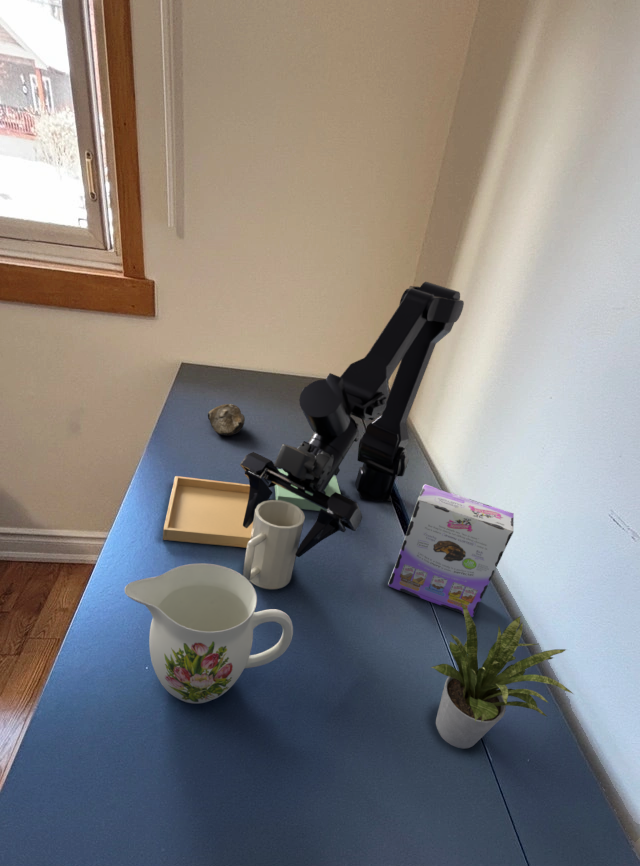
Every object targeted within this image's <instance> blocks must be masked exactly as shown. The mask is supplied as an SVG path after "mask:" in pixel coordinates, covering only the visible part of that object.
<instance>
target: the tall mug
mask: <svg viewBox="0 0 640 866" xmlns="http://www.w3.org/2000/svg"><path fill="white" fill-rule="evenodd" d="M305 520H306V516H305V513H304V511H303V509H300V508H299V507H297V506H295V505H293V504H292V503H289V502H285V501H281V500H276V499H270V500H269V499H268V501H264V502H262V503H260V504H258V505H257V507H256V509H255V514H254V520H253V526H252V532H251V538H250V541H248V543H247V548H246V550H245V555H244V561H243V562H244V563H243V569H242V574H241V575H243V576H244V577H245V578H246V579H247V580H248V581H249V582H250V583H251V584H252V585H253V586H256V587H258V588H261V589H265V590H278V589H279V590H280V589H283V588H284V587H286V586H287V585H288V584H289V583H290V582H291V580H292V577H293V572H294V568H295V564H296V559H297V556H296V555H295V554H296V552H297V550H298V548H299V546H300V542H301V539H302V538H301V537H302V533H303V530H304V529H303V528H304V524H305Z"/></svg>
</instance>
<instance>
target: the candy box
mask: <svg viewBox="0 0 640 866" xmlns="http://www.w3.org/2000/svg"><path fill="white" fill-rule="evenodd" d="M514 520H515V519H514V512H512V511H507V510H505V509H501V508H498V507H495V506H492V505H490V504H486V503H483V502H480V501H477V500H474V499H471V498H468V497H465V496H462V495H458V494H456V493H453V492H450V491H447V490H444V489H441V488H438V487H435V486H432V485H429V484H427V483H424V484H423V486H422V488H421V491H420V493H419V495H418V497H417V500H416V502H415V506H414V509H413V512H412V515H411V519H410V521H409V523H408V527H407V531H406V533H405V535H404V539H403V542H402V544H401V547H400V550H399V553H398V555H397V559H396V561H395V565H394V567H393V569H392V572H391V575H390V578H389V580H388V582H387V586H388V587H389V588H391V589H394V590H397V591H399V592H402V593H406V594H408V595H410V596H413V597H417V598H419V599H422V600H424V601H427V602H429V603H433V604H436V605H438V606H441V607H444V608H446V609H449V610H451V611H455V612H457V613H460V614H462V615H464V613H463V608H462V604H463V605H464V606H465V607H466V608H467V609H468V611H469V613H470V616H471V618H473V617H475V614H476V612H477V610H478V608H479V605H480V603H481V601H482V599H483V598H484V595H485V593H486V590H487V588H488V587H489V584H490V582H491V580H492V578H493V576H494V574H495V572H496V570H497V567H498V565H499V563H500V562H501V559H502V557H503V554H504V553H505V550H506V548H507V546H508V544H509V542H510V540H511V538H512V536H513V534H514V523H515V522H514ZM461 601H462V604H461Z"/></svg>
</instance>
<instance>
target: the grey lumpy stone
mask: <svg viewBox="0 0 640 866" xmlns="http://www.w3.org/2000/svg"><path fill="white" fill-rule="evenodd" d="M207 419H208V421H209V423H210V425H211V427H212V429H213V431H214V433H216V434H218V435H220V436H233V435H235V434H238V433H239V432H241V430H242V429H243V427H244V425H245V422H246V418H245V415H244V414H243V413H242V411H241V409H240V407H238V406H237V405H236V404H234V403H233V404H232V403H223V404H221V405H218V406H216V407H214V408H213V409H211V410H209V411H208V412H207Z"/></svg>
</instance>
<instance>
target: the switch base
mask: <svg viewBox="0 0 640 866" xmlns="http://www.w3.org/2000/svg"><path fill="white" fill-rule="evenodd" d="M277 469H278V470H279V471H280V472H281V473H283V474H285V475H288V473H286V472H284V470H283V469H282V468H281V469H279V468H277ZM338 482H339V481H338V479H337V476H336V475H333V477H332V479H331V480H330V482H329V484H328V485H327V487H326V489H325V492H326V494H325V495H327V496H329V497H330V496H331V495H332V494H333V493H335V492H337V493H339V494H341V491H340V487H339V483H338ZM291 486H293V485H291ZM293 487H295V486H293ZM295 488H297V487H295ZM297 489H298V488H297ZM306 493H308V494H310V495H313V494H312V493H310V492H308V491H306ZM274 495H275V500H281V501H285V502H289V503H292V504H293V505H295V506H297V507H299V508H300V509H301V510H307V511H316V512H320V509H323V510H325V511H327V510H326V509H324V508H322V507H320V506H318V505H316V504H314V503H312V502H310V501H308V500H306V499H304V498H302V497H300V496H298V495H296V494H294V493H292V492H290V491H288V490H286V489H284V488H282V487H280V486H278V485H275V486H274Z"/></svg>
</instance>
